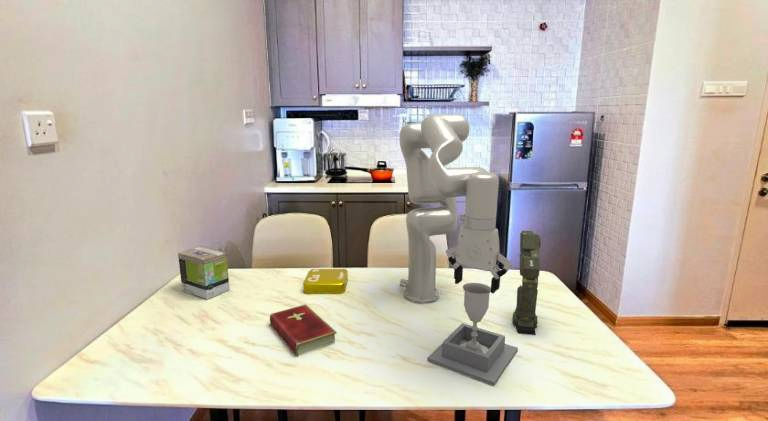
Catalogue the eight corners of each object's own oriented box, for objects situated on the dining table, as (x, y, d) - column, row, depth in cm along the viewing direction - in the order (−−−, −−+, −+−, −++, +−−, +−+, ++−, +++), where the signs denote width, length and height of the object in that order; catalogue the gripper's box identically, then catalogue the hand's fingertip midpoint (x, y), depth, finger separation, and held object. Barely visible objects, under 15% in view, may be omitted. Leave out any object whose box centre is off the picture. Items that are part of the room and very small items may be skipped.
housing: (427, 361, 109) (427, 344, 107) (456, 331, 123) (457, 316, 122) (494, 386, 99) (495, 367, 97) (517, 351, 113) (518, 334, 112)
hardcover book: (296, 358, 111) (296, 344, 110) (270, 325, 128) (269, 313, 127) (336, 344, 117) (336, 331, 116) (306, 315, 134) (305, 303, 133)
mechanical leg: (541, 339, 117) (546, 232, 117) (515, 336, 119) (519, 231, 119) (534, 326, 131) (538, 231, 131) (510, 324, 132) (514, 229, 132)
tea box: (231, 290, 153) (227, 252, 149) (206, 300, 144) (202, 260, 141) (205, 281, 160) (201, 245, 157) (181, 290, 152) (176, 252, 149)
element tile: (344, 295, 149) (344, 282, 148) (302, 295, 149) (302, 282, 148) (348, 278, 164) (348, 267, 162) (310, 278, 164) (309, 267, 163)
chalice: (488, 347, 113) (493, 285, 109) (486, 360, 106) (490, 295, 102) (461, 342, 115) (464, 281, 111) (457, 355, 109) (460, 291, 105)
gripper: (441, 220, 104) (438, 283, 108) (509, 232, 95) (504, 301, 99) (454, 214, 110) (451, 274, 114) (519, 224, 101) (514, 289, 105)
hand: (475, 286), depth 107 cm, fingers open, 9 cm apart
